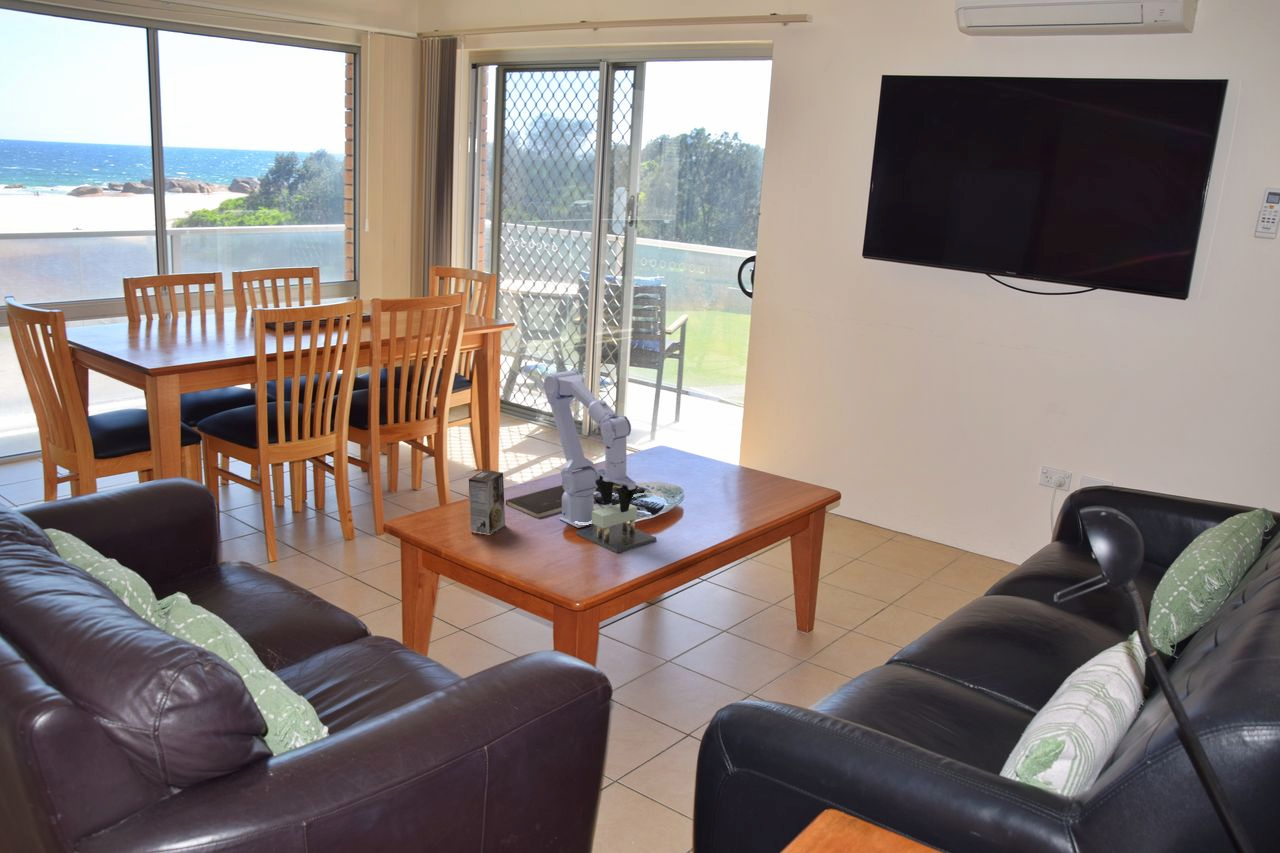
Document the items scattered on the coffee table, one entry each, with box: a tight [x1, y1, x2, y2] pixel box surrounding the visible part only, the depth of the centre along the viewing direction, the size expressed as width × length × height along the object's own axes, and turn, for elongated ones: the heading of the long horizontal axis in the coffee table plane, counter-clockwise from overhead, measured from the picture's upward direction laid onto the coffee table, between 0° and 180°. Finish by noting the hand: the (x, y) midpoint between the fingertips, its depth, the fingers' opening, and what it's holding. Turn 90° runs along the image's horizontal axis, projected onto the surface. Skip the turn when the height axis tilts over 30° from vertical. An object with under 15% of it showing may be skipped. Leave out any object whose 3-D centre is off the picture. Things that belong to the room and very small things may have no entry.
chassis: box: [575, 519, 657, 554], centre depth 286 cm, size 18×14×5 cm
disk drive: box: [596, 483, 646, 494], centre depth 324 cm, size 10×3×15 cm
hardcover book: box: [505, 484, 597, 519], centre depth 314 cm, size 16×23×2 cm
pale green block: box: [591, 503, 638, 528], centre depth 284 cm, size 5×12×4 cm, turn 130°
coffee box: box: [468, 469, 506, 534], centre depth 290 cm, size 9×6×16 cm
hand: (615, 507), depth 284 cm, fingers open, 7 cm apart
